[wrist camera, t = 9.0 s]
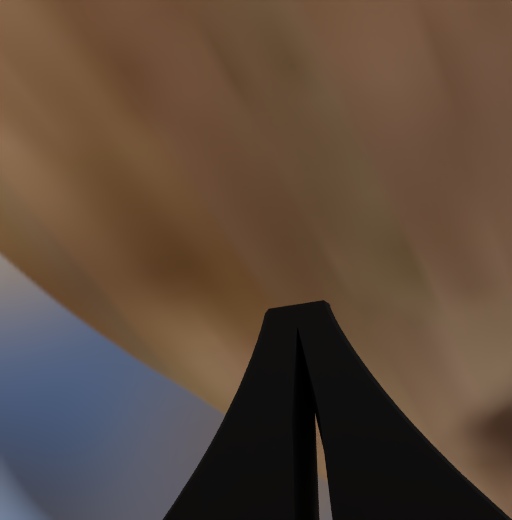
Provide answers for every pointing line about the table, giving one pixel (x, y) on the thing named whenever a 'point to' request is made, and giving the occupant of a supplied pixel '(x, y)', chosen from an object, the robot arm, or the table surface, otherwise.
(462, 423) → the table surface
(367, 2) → the table surface
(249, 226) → the table surface
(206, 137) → the table surface
